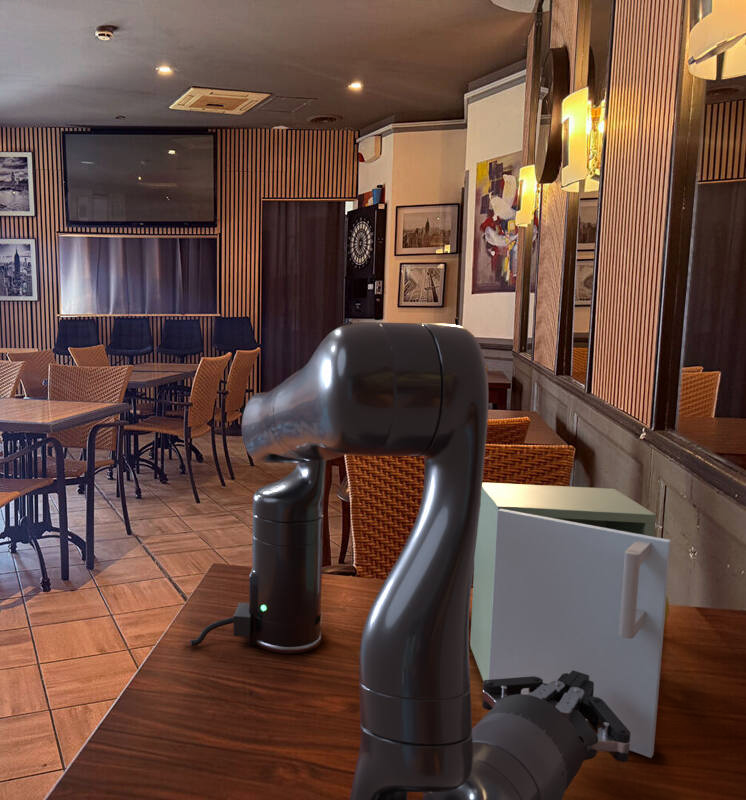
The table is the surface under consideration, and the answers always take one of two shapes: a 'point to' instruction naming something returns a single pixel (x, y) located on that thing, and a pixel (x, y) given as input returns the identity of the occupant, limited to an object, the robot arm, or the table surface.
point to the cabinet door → (582, 612)
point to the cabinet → (548, 502)
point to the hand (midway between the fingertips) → (580, 681)
